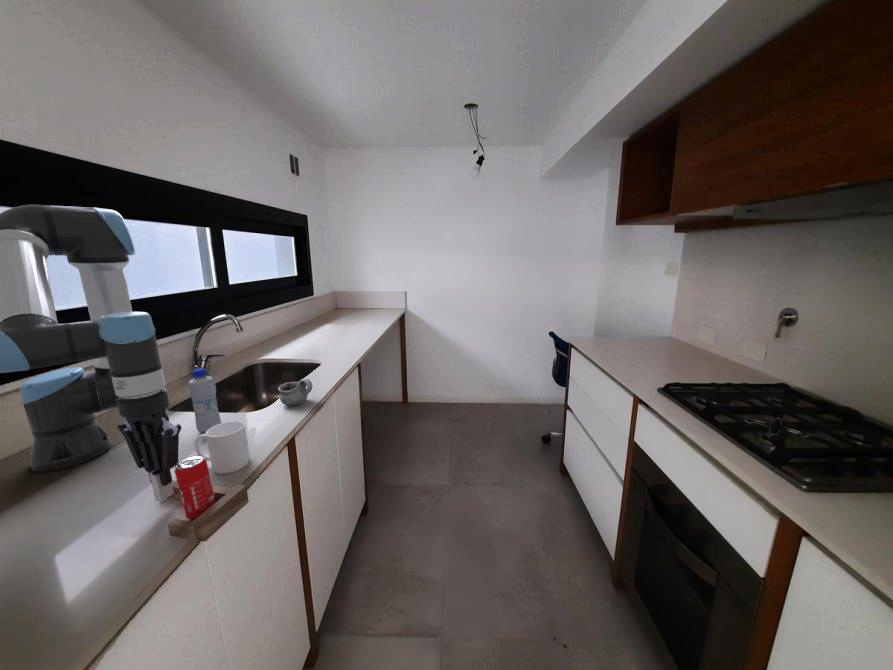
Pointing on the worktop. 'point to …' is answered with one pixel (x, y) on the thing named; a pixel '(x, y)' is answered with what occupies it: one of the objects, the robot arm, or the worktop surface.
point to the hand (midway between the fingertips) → (164, 496)
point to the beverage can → (194, 486)
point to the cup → (225, 447)
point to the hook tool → (209, 513)
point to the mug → (295, 392)
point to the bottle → (204, 400)
